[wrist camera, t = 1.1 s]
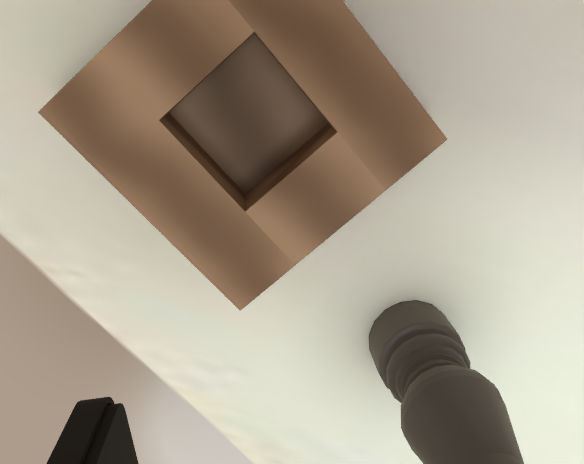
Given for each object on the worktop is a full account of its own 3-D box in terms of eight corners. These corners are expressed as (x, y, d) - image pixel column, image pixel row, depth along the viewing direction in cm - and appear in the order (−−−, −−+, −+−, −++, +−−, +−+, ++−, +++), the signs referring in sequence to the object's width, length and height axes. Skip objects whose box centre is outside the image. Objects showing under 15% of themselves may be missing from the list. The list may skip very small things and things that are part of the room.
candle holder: (351, 334, 41) (491, 728, 17) (419, 284, 40) (666, 627, 16) (399, 388, 43) (585, 812, 19) (465, 341, 42) (747, 725, 18)
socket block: (259, -83, 32) (261, -107, 27) (421, 127, 36) (447, 139, 32) (67, 103, 34) (37, 112, 30) (241, 278, 39) (240, 310, 34)
